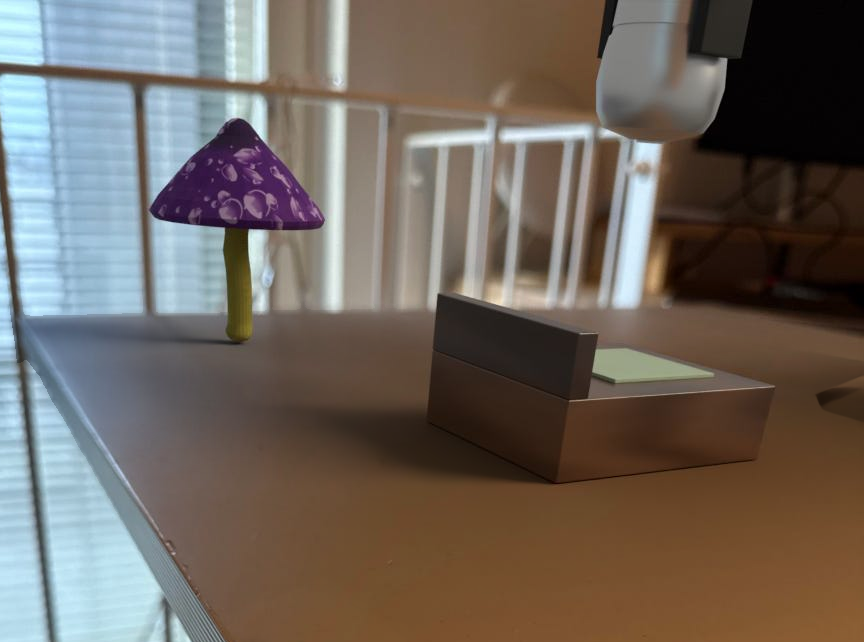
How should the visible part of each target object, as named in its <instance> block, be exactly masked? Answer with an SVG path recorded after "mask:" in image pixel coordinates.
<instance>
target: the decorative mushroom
mask: <svg viewBox="0 0 864 642" xmlns="http://www.w3.org/2000/svg"><path fill="white" fill-rule="evenodd" d="M148 211H149V212H150V215H152V216H153V217H154V219H156V220H158V221H163V222H169V223H175V224H180V225H189V226H201V227H209V228H221V229H224V235H223V236H224V237H223V244H222V245H223V246H222V254H223V261H224V268H225V279H226V293H227V294H226V298H227V299H226V300H227V306H226V307H227V324H226V328H225V334H226V336H227V337H228V338H229V339H230V341H234V342H236V343H238V344H240V343H243V342H247V341H249V340H250V339H251V337H252V336H253V284H252V268H251V263H250V262H251V261H250V253H249V251H250V250H249V232H250V230H254V231H255V230H256V231H257V230H259V231H312V230H318V229H321V228H322V227H323V226H324V224H325V221H326V219H325V216H324V214H323V213H322V211H321V209H320V208H319V206H318V204H317V203H316V202H315V201H314V199H312V197H311V196H310V195H309V194H308V193H307V192H306V190H305V189H304V187H303V186H302V184H301V183H300V182H299V181H298V180H297V177H295V176H294V175H293V173H292V171H291V170H290V169H289V167H287V165H286V164H285V163H284V162H283V161H282V160H281V159H280V158H279V157H278V156H277V155H276V154H275V153H274V152H273V150H272V149H271V148H270V147H269V145H268V144H267V143H266V142H265V141H264V140H263V139H262V138H261V136H260V135H259V134H258V132H257V131H256V130H255V128H254V127H253V126H252V125H251V124H250V123H249V122H248V121H247V120H245V119H244V118H241V117H233V118H230V119H229V120H228V121H226V122H225V123H224V124H223V125H221V127H220V128H219V130H218V132H217V134H216V135H215V136H214V138H212V139H211V140H210V141H209V142H207V143H206V144H204V145H203V146H202V147H201V148H199V150H198V151H196V152H195V153H194V154H193V155H191V156H190V157H189V159H188V160H187V161H185V163H184V164H183V165H182V166H181V167H180V169H179V170H178V171H177V172H176V173H175V174H174V175H173V176H172V178H171V179H170V180H169V181H168V183H166V185H165V186H164V187H163V189H161V190H160V192H159V193H158V194H157V196H156V197H155V199H154V200H153V202H152V204H151V205H150V206H149V208H148Z"/></svg>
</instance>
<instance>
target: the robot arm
mask: <svg viewBox="0 0 864 642" xmlns="http://www.w3.org/2000/svg"><path fill="white" fill-rule="evenodd" d="M753 1H754V0H698V5H697V11H696V16H695V22H694V27H693V33H692V38H691V44H690V50H689V53H694V54H701V55H708V56H714V57H720V58H727V60H733V59H734V60H735V59H742V55H743V50H744V44H745V39H746V36H747V35H746V34H747V29H748V25H749V20H750V15H751V10H752V5H753ZM617 4H618V0H604V8H603V14H602V21H601V28H600V36H599V42H598V49H597V56H596V58H597V59H601V60H602V57H603V53H604V50H605V47H606V44H607V41H608V38H609V36H610V35H611V34H612V31H613V22H614V18H615V13H616V8H617Z"/></svg>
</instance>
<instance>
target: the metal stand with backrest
mask: <svg viewBox="0 0 864 642" xmlns="http://www.w3.org/2000/svg"><path fill="white" fill-rule="evenodd" d="M598 340H599V332H597V331H594V330H590V329H586V328H584V327H583V328H582V327H580V326H576V325H573V324H568V323H565V322H561V321H557V320H554V319H551V318H550V319H549V318H547V317H543V316H539V315H535V314H532V313H529V312H525V311H521V310H518V309H515V308H511V307H507V306H503V305H500V304H496V303H493V302H489V301H486V300H482V299H479V298H476V297H475V298H474V297H471V296H467V295H463V294H460V293H456V292H438V293H437V295H436V305H435V316H434V328H433V340H432V351H431V352H432V354H431V363H430V364H431V365H430V376H429V386H428V387H429V389H428V398H427V410H426V422H429V423H430V424H432V425H434V426H435V427H438V428H441V429H443V430H445V431H446V432H449V433H451V434H453V435H455V436H457V437H459V438H461V439H463V440H465V441H468V442H469V443H472V444H474V445H476V446H478V447H480V448H481V449H484V450H486V451H488V452H491V453H492V454H495V455H497V456H498V457H501V458H503V459H505V460H507V461H509V462H511V463H513V464H515V465H516V466H519V467H521V468H523V469H525V470H527V471H529V472H532V473H534V474H536V475H538V476H540V477H541V478H544V479H545V480H548V481H550V482H552V483H553V484H561V483H569V482H579V481H587V480H594V479H595V480H597V479H603V478H604V479H605V478H612V477H619V476H628V475H629V476H631V475H637V474H645V473H654V472H662V471H663V472H664V471H667V470H668V471H670V470H679V469H687V468H694V467H695V468H696V467H703V466H712V465H720V464H729V463H736V462H737V463H738V462H744V461H745V462H746V461H754V460H757V459H758V458H759V453H760V449H761V445H762V441H763V437H764V433H765V429H766V425H767V421H768V417H769V413H770V409H771V406H772V401H773V398H774V393H775V389H776V386H775V385H773V384H769V383H766V382H762V381H759V380H755V379H752V378H748V377H744V376H742V375H737V374H734V373H730V372H727V371H724V370H720V369H716V368H713V367H708V366H706V365H702V364H698V363H696V362H691V361H688V360H685V359H681V358H677V357H674V356H670V355H667V354H663V353H659V352H656V351H652V350H648V349H645V348H642V347H638V346H635V345H631V344H627V343H623V342H613V343H598Z"/></svg>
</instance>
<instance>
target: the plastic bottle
mask: <svg viewBox="0 0 864 642" xmlns="http://www.w3.org/2000/svg"><path fill="white" fill-rule="evenodd" d="M697 5H698V0H618V4H617V8H616V13H615V18H614V22H613V31H612V34H611V35H610V36H609V38H608V41H607V44H606V47H605V50H604V53H603V57H602V59H601V62H600V66H599V69H598V73H597V77H596V81H595V112H596V115H597V117H598V120H599V124H600V125H601V128H602V129H605V130H608V131H609V132H612V133H614V134H617V135H619V136H622V137H623V138H626V139H629V140H634V141H635V142H636V143H641V144H654V145H664V143H672V142H676V141H680V140H684V139H688V138H693V137H696V136H700V135H703V134H704V133H705V132H706V131H707V129H708V128H709V127H710V125H712V123H713V122H714V120H715V119H716V116H717V113H718V110H719V107H720V104H721V101H722V99H723V95H724V92H725V89H726V78H727V69H728V67H727V65H728V59H727V58H720V57H714V56H708V55H701V54H694V53H689V50H690V44H691V38H692V33H693V27H694V22H695V16H696V11H697Z"/></svg>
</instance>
